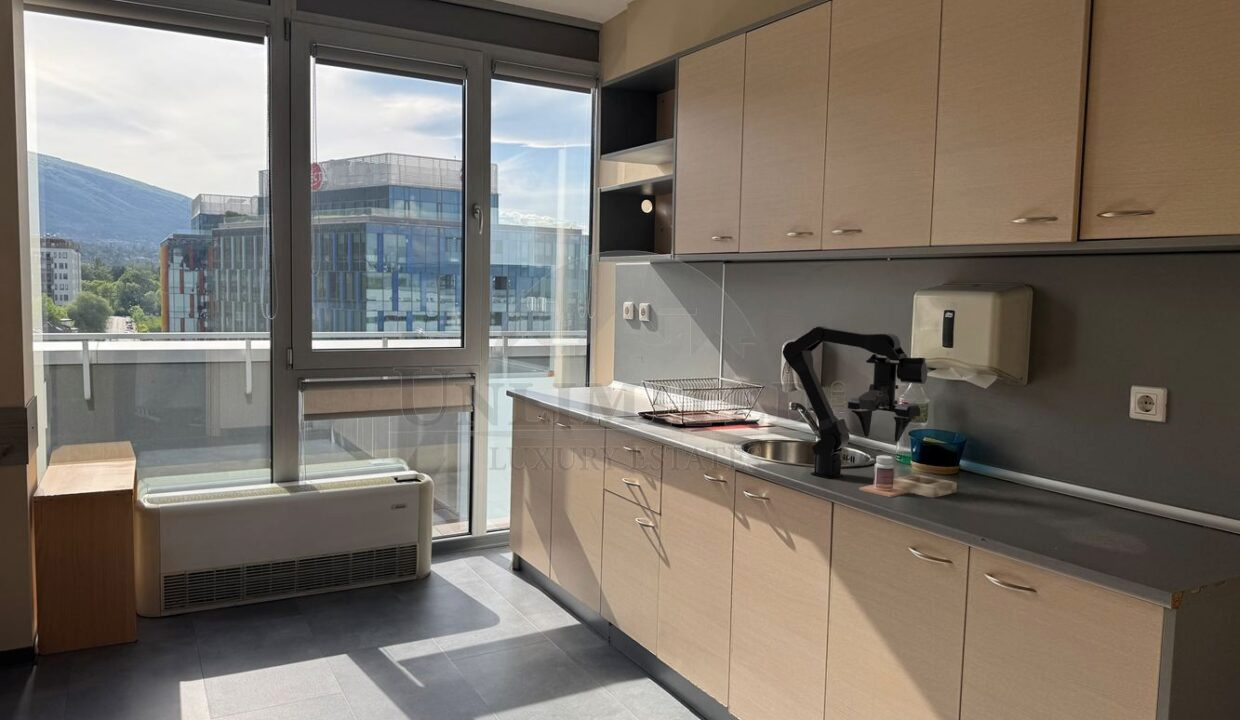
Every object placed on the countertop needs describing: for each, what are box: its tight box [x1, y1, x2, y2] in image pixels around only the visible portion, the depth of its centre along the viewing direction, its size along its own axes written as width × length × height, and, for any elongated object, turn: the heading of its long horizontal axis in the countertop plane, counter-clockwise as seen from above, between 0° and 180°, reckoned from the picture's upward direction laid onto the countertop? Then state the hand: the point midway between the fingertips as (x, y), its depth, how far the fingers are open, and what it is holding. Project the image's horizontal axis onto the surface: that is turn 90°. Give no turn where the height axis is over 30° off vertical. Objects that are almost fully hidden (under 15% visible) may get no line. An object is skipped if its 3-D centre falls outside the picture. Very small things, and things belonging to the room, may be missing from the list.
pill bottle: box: [873, 455, 895, 491], centre depth 216 cm, size 5×5×8 cm
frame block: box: [893, 473, 957, 498], centre depth 219 cm, size 12×11×2 cm
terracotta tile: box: [859, 484, 909, 498], centre depth 216 cm, size 9×8×1 cm
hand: (881, 439), depth 224 cm, fingers open, 9 cm apart
